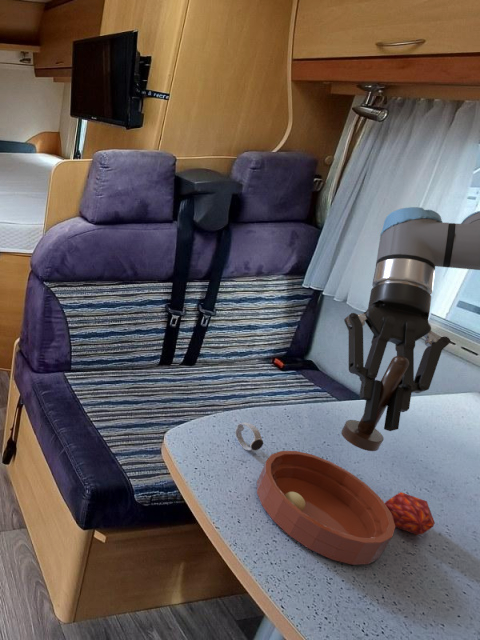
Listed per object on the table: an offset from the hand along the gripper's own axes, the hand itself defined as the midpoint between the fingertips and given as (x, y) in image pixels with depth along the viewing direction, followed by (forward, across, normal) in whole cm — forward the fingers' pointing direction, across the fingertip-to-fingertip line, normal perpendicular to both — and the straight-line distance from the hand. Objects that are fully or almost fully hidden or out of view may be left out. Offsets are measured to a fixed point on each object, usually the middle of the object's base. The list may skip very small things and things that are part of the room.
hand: (379, 425), depth 71 cm
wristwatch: (+7, +14, -21) cm, 26 cm away
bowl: (+15, +3, -13) cm, 20 cm away
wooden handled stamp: (+1, 0, -7) cm, 7 cm away
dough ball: (+15, +6, -10) cm, 19 cm away
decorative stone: (+10, -10, -18) cm, 23 cm away
